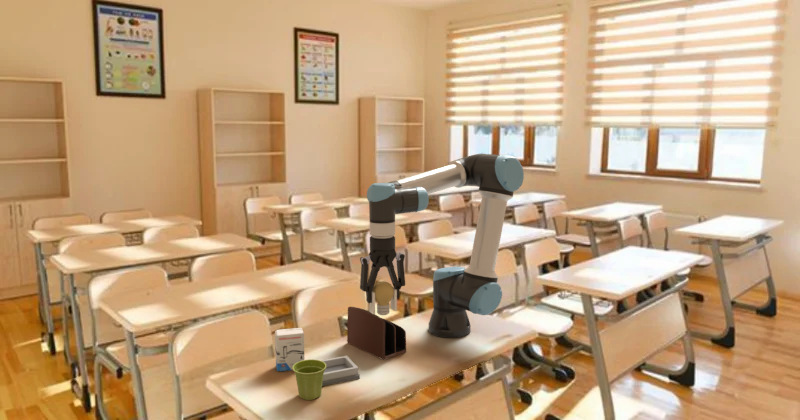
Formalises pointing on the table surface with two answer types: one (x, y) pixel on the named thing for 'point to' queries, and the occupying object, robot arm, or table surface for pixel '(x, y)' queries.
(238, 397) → the table surface
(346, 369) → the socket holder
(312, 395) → the plant pot
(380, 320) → the letter holder
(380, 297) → the light bulb
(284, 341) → the ink box
